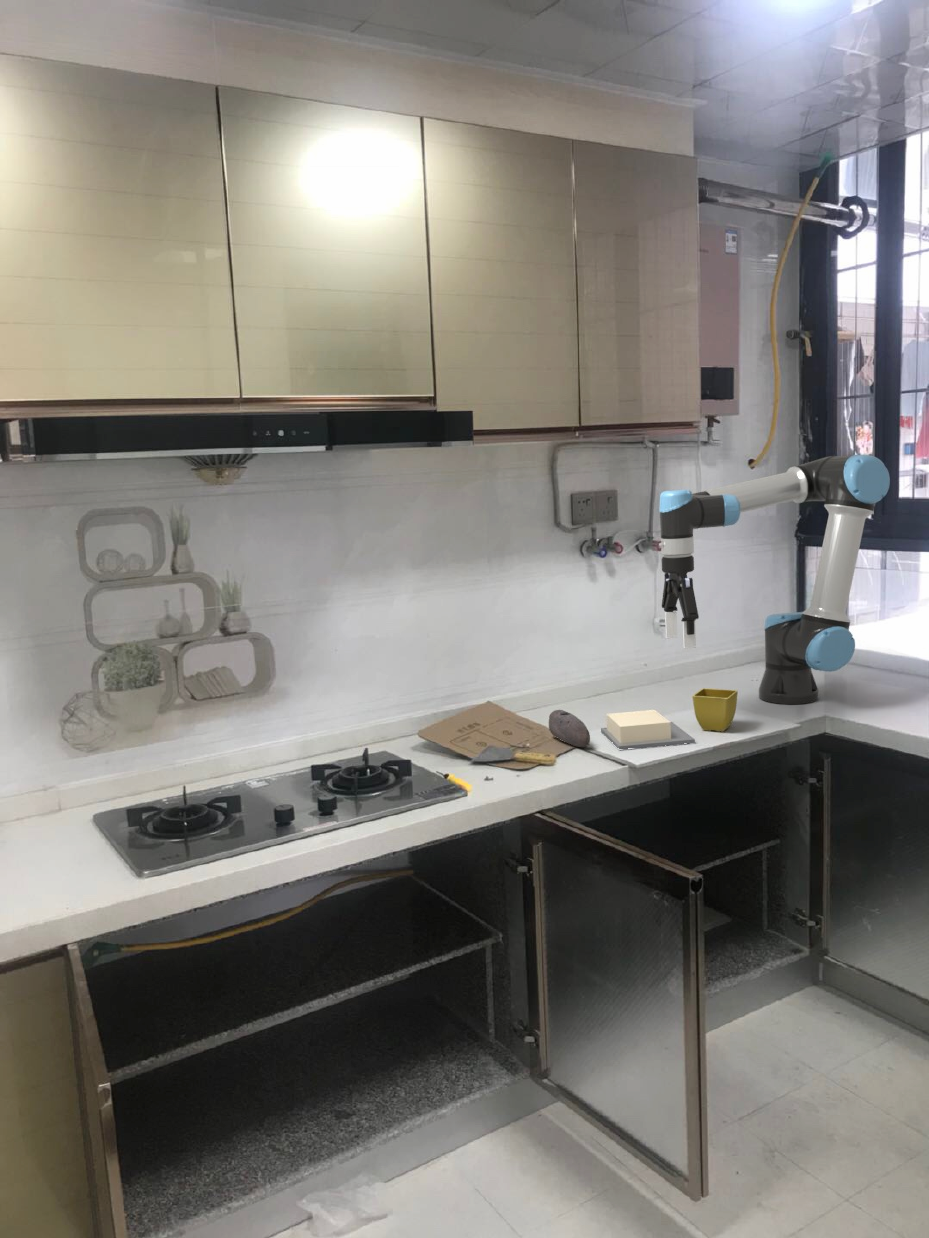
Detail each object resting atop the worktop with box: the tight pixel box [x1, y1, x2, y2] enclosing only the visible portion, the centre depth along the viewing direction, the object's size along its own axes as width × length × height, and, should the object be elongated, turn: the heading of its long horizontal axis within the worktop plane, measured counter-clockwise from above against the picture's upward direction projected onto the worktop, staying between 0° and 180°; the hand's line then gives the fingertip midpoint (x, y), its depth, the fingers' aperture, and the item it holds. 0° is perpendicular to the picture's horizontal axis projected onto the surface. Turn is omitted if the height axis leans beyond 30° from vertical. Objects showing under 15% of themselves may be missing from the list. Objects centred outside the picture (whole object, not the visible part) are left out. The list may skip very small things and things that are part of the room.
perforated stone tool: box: [548, 709, 591, 748], centre depth 225 cm, size 15×5×7 cm, turn 23°
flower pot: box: [692, 687, 739, 732], centre depth 230 cm, size 9×9×9 cm
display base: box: [600, 709, 696, 749], centre depth 227 cm, size 18×16×5 cm
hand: (680, 642), depth 230 cm, fingers open, 13 cm apart
